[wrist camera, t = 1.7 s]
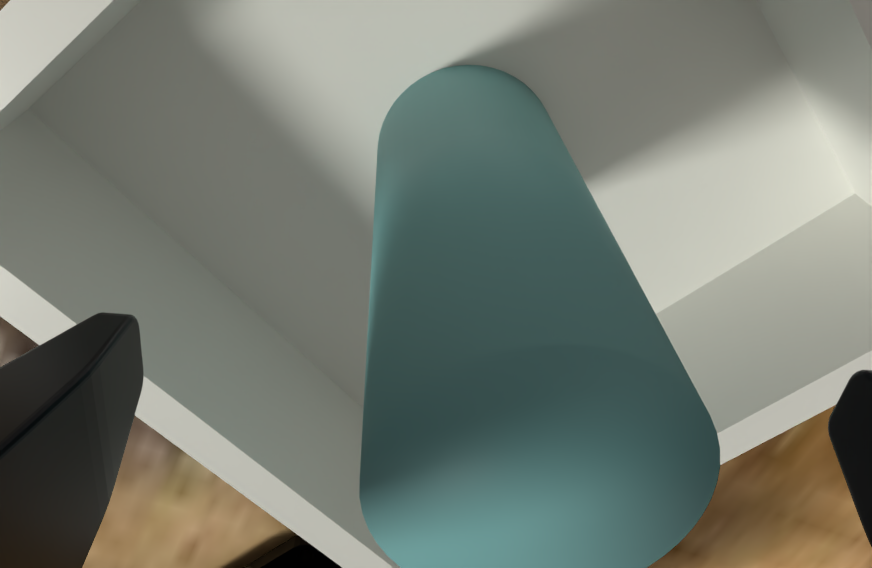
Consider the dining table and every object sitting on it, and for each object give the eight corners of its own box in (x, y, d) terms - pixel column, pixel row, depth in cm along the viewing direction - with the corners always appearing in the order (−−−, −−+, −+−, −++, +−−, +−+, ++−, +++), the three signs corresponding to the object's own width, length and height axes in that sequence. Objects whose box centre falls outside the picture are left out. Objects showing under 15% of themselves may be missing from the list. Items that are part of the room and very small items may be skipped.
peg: (587, 166, 15) (779, 502, 8) (449, 261, 16) (497, 642, 9) (486, 24, 14) (601, 271, 6) (340, 141, 15) (282, 475, 7)
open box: (878, 179, 17) (1040, 298, 13) (413, 461, 21) (418, 623, 17) (555, -482, 11) (656, -677, 7) (-10, 87, 15) (-172, 190, 11)
